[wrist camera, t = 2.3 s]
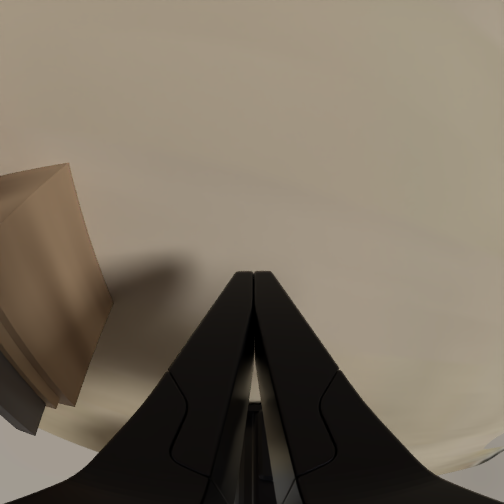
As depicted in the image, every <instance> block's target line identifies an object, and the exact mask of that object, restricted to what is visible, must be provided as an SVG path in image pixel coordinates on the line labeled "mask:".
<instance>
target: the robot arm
mask: <svg viewBox="0 0 504 504" xmlns="http://www.w3.org/2000/svg"><path fill="white" fill-rule="evenodd" d="M254 340H255V362H256V370H257V377H258V383H259V390H260V397H261V404H262V405H248V403H249V396H250V388H251V381H252V373H253V365H254ZM168 371H169V372H166V373H165V374H164V376H163V377H162V379H161V380H160V381H159V383H158V384H157V386H156V387H155V388H154V390H153V391H152V392H151V394H150V395H149V396H148V398H147V399H146V400H145V402H144V403H143V404H142V405H141V407H140V408H139V409H138V410H137V411H136V412H135V414H134V415H133V416H132V417H131V418H130V419H129V420H128V422H127V423H126V424H125V425H124V426H123V427H122V428H121V429H120V430H119V431H118V433H117V434H116V435H115V436H114V437H113V438H112V439H111V440H110V441H109V442H108V443H107V444H106V446H105V447H104V448H103V449H102V450H101V451H100V452H99V453H98V454H97V455H96V456H95V457H94V458H93V460H92V461H91V462H90V463H89V464H88V465H87V466H86V467H84V468H83V469H82V470H81V471H79V472H78V473H77V474H75V475H74V476H72V477H70V478H69V479H67V480H65V481H63V482H60V483H58V484H55V485H53V486H51V487H48V488H46V489H43V490H40V491H38V492H36V493H33V494H30V495H27V496H25V497H22V498H19V499H16V500H13V501H11V502H7V503H5V504H504V502H500V501H498V500H495V499H492V498H489V497H487V496H484V495H481V494H479V493H476V492H473V491H471V490H468V489H465V488H463V487H461V486H458V485H456V484H453V483H451V482H449V481H446V480H444V479H442V478H440V477H439V476H437V475H435V474H434V473H432V472H431V471H429V470H428V469H427V468H426V467H424V466H423V465H422V464H421V463H420V462H419V461H418V460H417V459H416V458H415V457H414V456H413V455H412V454H411V453H410V452H409V451H408V450H407V448H406V447H405V446H404V445H403V444H402V443H401V442H400V441H399V440H398V439H397V438H396V437H395V436H394V435H393V433H392V432H391V431H390V430H389V429H388V428H387V427H386V426H385V425H384V424H383V423H382V422H381V421H380V419H379V418H378V417H377V416H376V415H375V414H374V413H373V411H372V410H371V409H370V408H369V407H368V406H367V404H366V403H365V402H364V401H363V400H362V398H361V397H360V396H359V394H358V393H357V392H356V390H355V389H354V388H353V386H352V385H351V384H350V382H349V381H348V379H347V378H346V377H345V375H344V374H343V372H342V371H341V370H339V367H338V365H337V364H336V363H335V361H334V360H333V358H332V357H331V355H330V354H329V353H328V351H327V350H326V348H325V347H324V346H323V344H322V343H321V341H320V340H319V338H318V337H317V336H316V334H315V333H314V331H313V330H312V328H311V327H310V326H309V324H308V323H307V321H306V320H305V319H304V317H303V316H302V314H301V313H300V311H299V310H298V309H297V307H296V306H295V304H294V303H293V302H292V300H291V299H290V297H289V296H288V294H287V293H286V292H285V290H284V289H283V287H282V286H281V285H280V283H279V282H278V280H277V279H276V277H275V276H274V275H273V273H272V272H271V271H256V272H254V274H253V272H252V271H238V272H236V273H235V274H234V276H233V277H232V278H231V280H230V281H229V283H228V284H227V286H226V287H225V288H224V290H223V291H222V293H221V294H220V296H219V297H218V298H217V300H216V301H215V303H214V304H213V306H212V307H211V308H210V310H209V311H208V313H207V314H206V316H205V317H204V319H203V320H202V321H201V323H200V324H199V326H198V327H197V329H196V330H195V331H194V333H193V334H192V336H191V337H190V339H189V340H188V341H187V343H186V344H185V346H184V347H183V349H182V350H181V352H180V353H179V354H178V356H177V357H176V359H175V360H174V362H173V363H172V364H171V366H170V367H169V369H168Z"/></svg>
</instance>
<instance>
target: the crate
mask: <svg viewBox="0 0 504 504" xmlns="http://www.w3.org/2000/svg"><path fill="white" fill-rule="evenodd" d="M112 305H113V301H112V298H111V296H110V293H109V291H108V288H107V286H106V283H105V280H104V278H103V275H102V272H101V269H100V267H99V264H98V261H97V258H96V255H95V252H94V249H93V246H92V243H91V240H90V237H89V234H88V231H87V228H86V225H85V221H84V218H83V215H82V211H81V208H80V204H79V201H78V197H77V193H76V190H75V186H74V182H73V178H72V174H71V170H70V166H69V163H64V164H58V165H52V166H47V167H41V168H36V169H31V170H26V171H21V172H16V173H12V174H7V175H3V176H0V415H1V416H3V417H4V418H5V419H6V420H7V421H8V422H9V423H11V424H12V425H13V426H14V427H15V428H16V429H18V430H20V431H23V432H26V433H29V434H31V435H34V436H35V435H36V432H37V429H38V426H39V423H40V420H41V417H42V414H43V411H44V409H45V406H47V407H51V408H54V409H56V408H57V405H58V403H60V404H64V405H69V406H73V407H75V405H76V402H77V399H78V396H79V393H80V390H81V387H82V384H83V381H84V378H85V375H86V373H87V370H88V367H89V364H90V361H91V359H92V356H93V353H94V351H95V348H96V345H97V343H98V340H99V338H100V335H101V332H102V330H103V327H104V325H105V322H106V320H107V318H108V315H109V313H110V310H111V308H112Z"/></svg>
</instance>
